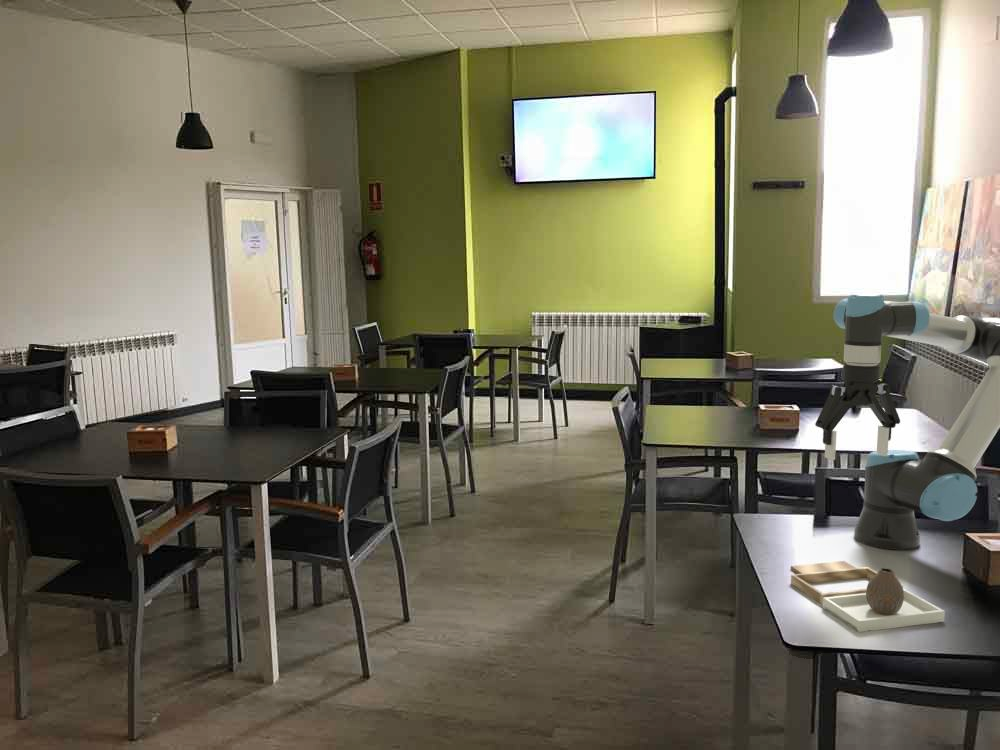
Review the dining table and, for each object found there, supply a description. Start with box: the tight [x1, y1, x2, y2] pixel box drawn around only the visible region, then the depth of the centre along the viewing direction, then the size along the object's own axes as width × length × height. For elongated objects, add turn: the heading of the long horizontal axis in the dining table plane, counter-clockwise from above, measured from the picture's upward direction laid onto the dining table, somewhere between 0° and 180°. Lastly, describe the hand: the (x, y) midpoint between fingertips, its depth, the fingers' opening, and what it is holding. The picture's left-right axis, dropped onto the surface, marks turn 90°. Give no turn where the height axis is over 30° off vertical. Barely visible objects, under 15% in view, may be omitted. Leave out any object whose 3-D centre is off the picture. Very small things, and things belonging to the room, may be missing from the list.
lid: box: [790, 560, 857, 574], centre depth 191 cm, size 14×6×1 cm, turn 104°
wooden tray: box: [790, 566, 904, 605], centre depth 181 cm, size 19×11×2 cm, turn 104°
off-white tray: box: [822, 588, 946, 633], centre depth 168 cm, size 19×11×2 cm, turn 104°
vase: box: [865, 567, 904, 615], centre depth 168 cm, size 7×7×9 cm
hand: (856, 456), depth 188 cm, fingers open, 13 cm apart
